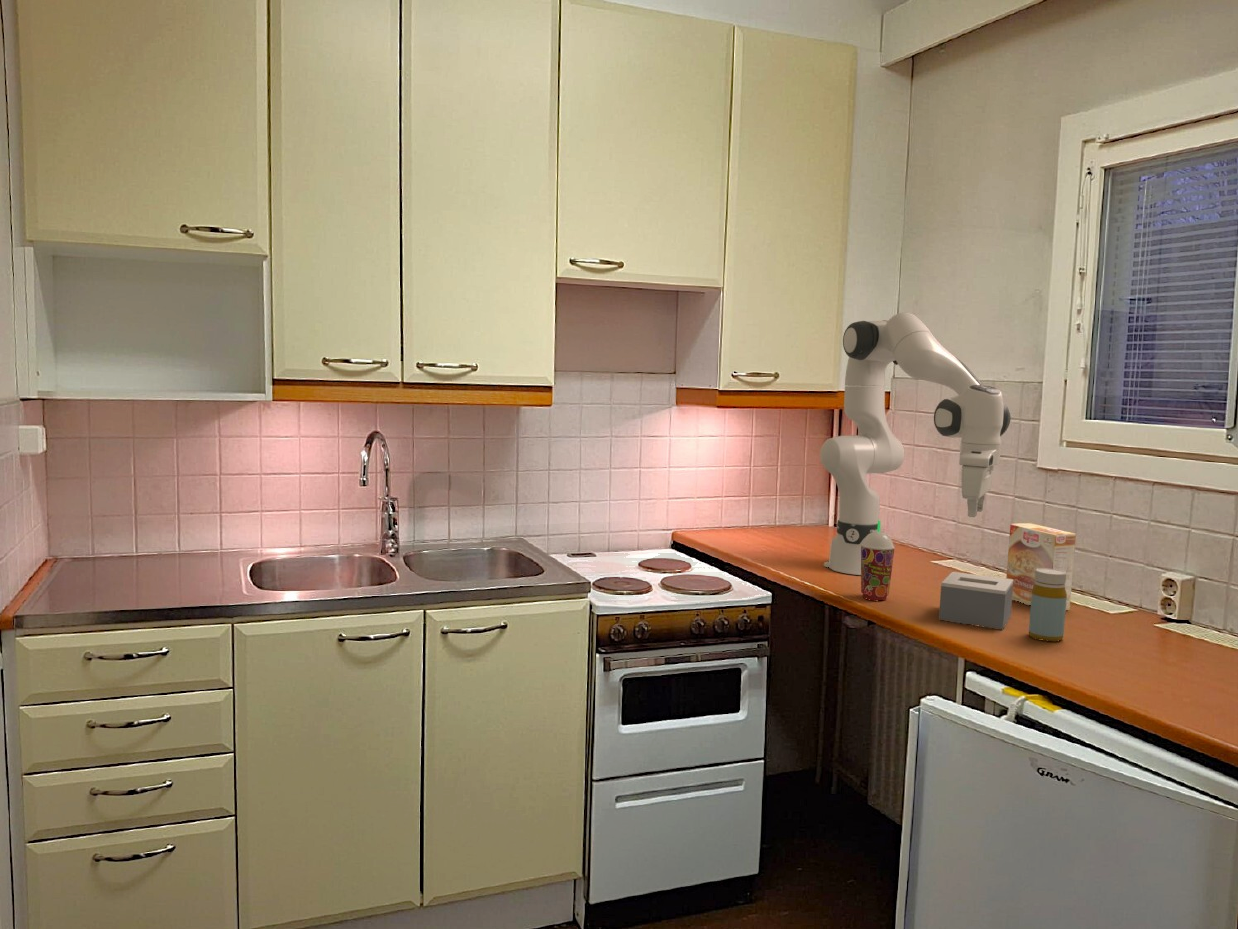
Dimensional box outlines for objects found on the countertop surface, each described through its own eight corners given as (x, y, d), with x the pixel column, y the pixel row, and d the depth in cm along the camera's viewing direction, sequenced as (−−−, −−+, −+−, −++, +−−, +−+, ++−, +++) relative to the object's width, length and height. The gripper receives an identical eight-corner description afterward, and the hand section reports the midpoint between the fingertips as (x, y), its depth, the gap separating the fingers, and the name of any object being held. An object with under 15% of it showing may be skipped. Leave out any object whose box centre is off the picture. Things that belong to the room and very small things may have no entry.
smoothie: (868, 603, 236) (873, 523, 234) (851, 595, 244) (856, 518, 241) (898, 601, 238) (903, 523, 236) (880, 593, 246) (885, 517, 244)
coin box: (949, 607, 234) (952, 571, 233) (1010, 616, 227) (1013, 579, 226) (938, 620, 222) (941, 582, 221) (1002, 630, 215) (1005, 591, 214)
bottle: (1033, 631, 215) (1038, 566, 213) (1066, 637, 210) (1072, 571, 209) (1024, 637, 209) (1029, 571, 208) (1058, 644, 205) (1063, 576, 203)
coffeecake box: (1003, 597, 246) (1009, 523, 243) (1024, 596, 248) (1030, 522, 246) (1048, 612, 232) (1054, 534, 230) (1070, 610, 234) (1077, 532, 232)
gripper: (972, 450, 232) (968, 506, 233) (958, 457, 214) (953, 518, 216) (1000, 453, 229) (995, 509, 230) (987, 460, 211) (983, 521, 213)
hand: (975, 513), depth 223 cm, fingers open, 8 cm apart
